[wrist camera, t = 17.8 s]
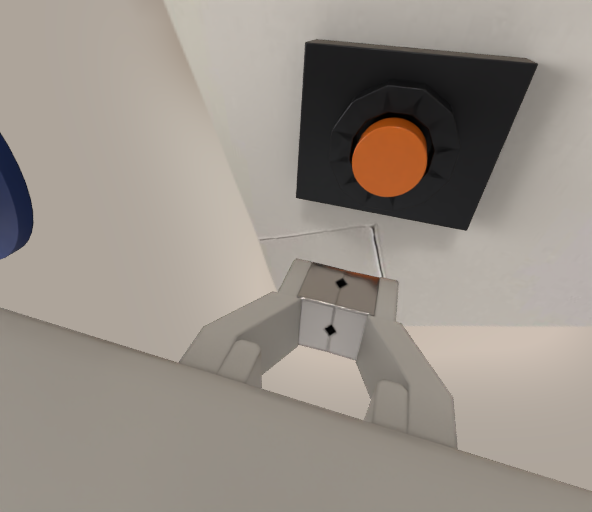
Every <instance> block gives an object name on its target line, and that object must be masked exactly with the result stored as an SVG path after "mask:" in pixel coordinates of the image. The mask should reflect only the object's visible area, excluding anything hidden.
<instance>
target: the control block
mask: <svg viewBox="0 0 592 512" xmlns="http://www.w3.org/2000/svg"><path fill="white" fill-rule="evenodd" d="M537 66H538V64H537V63H535V62H533V61H531V60H529V59H527V58H518V57H507V56H496V55H485V54H473V53H462V52H451V51H440V50H429V49H418V48H407V47H396V46H385V45H374V44H363V43H352V42H340V41H329V40H318V39H316V40H312V41H308V42H306V43H305V55H304V72H303V89H302V106H301V123H300V139H299V156H298V173H297V190H296V198H299V199H305V200H310V201H315V202H320V203H325V204H330V205H336V206H341V207H346V208H351V209H356V210H362V211H367V212H372V213H377V214H382V215H388V216H393V217H398V218H403V219H408V220H414V221H419V222H424V223H429V224H434V225H439V226H445V227H450V228H455V229H460V230H465V231H466V230H467V229H468V227H469V224H470V222H471V220H472V217H473V215H474V213H475V210H476V208H477V206H478V203H479V201H480V199H481V196H482V194H483V192H484V189H485V187H486V185H487V182H488V180H489V178H490V175H491V173H492V171H493V168H494V166H495V164H496V161H497V159H498V157H499V154H500V152H501V150H502V147H503V145H504V143H505V140H506V138H507V136H508V133H509V131H510V129H511V126H512V124H513V122H514V119H515V117H516V115H517V112H518V110H519V108H520V105H521V103H522V101H523V98H524V96H525V94H526V91H527V89H528V87H529V84H530V82H531V80H532V77H533V75H534V73H535V70H536V68H537ZM392 117H396V118H403V119H406V120H409V121H410V122H412V123H414V124H415V125H416V126H417V127H418V128H419V129H420V130H421V131H422V133H423V135H424V137H425V139H426V144H427V166H426V170H425V173H424V175H423V177H422V179H421V180H420V182H419V183H418V184H417V185H416V186H415V187H414V188H413V189H411V190H410V191H408V192H406V193H404V194H402V195H399V196H394V197H381V196H377V195H374V194H372V193H370V192H368V191H366V190H365V189H364V188H363V187H362V186H361V185H360V184H359V183H358V181H357V180H356V178H355V176H354V173H353V169H352V157H353V153H354V150H355V148H356V146H357V144H358V142H359V140H360V138H361V136H362V134H363V133H364V132H365V130H366V129H367V128H368V127H370V126H371V125H372V124H374V123H375V122H377V121H379V120H382V119H385V118H392Z"/></svg>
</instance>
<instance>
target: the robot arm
mask: <svg viewBox="0 0 592 512" xmlns="http://www.w3.org/2000/svg"><path fill="white" fill-rule="evenodd" d="M398 285H399V283H398V281H397V280H392V279H387V278H382V277H380V278H379V277H374V276H370V275H365V274H361V273H356V272H351V271H347V270H343V269H339V268H335V267H331V266H327V265H323V264H319V263H315V262H313V263H312V262H310V261H306V260H302V259H298V258H296V259H295V260H294V261H293V263H292V265H291V267H290V269H289V271H288V273H287V275H286V277H285V279H284V281H283V283H282V285H281V287H280V289H279V291H278V293H277V292H271V293H269V294H267V295H265V296H263V297H261V298H259V299H257V300H255V301H253V302H251V303H249V304H247V305H245V306H243V307H241V308H239V309H237V310H235V311H233V312H231V313H229V314H227V315H225V316H224V317H221V318H220V319H217V320H216V321H214V322H212V323H210V324H208V325H206V326H204V327H203V328H202V329H201V331H200V332H199V334H198V335H197V337H196V338H195V340H194V341H193V342H192V344H191V345H190V347H189V348H188V350H187V351H186V353H185V354H184V355H183V357H182V358H181V360H180V361H179V363H177V362H174V361H171V360H168V359H164V358H161V357H158V356H155V355H151V354H148V353H145V352H142V351H139V350H135V349H132V348H129V347H126V346H122V345H119V344H116V343H113V342H109V341H106V340H103V339H100V338H96V337H93V336H90V335H87V334H84V333H81V332H77V331H74V330H71V329H68V328H65V327H61V326H58V325H55V324H52V323H48V322H45V321H42V320H39V319H36V318H32V317H29V316H26V315H22V314H19V313H16V312H13V311H10V310H7V309H3V308H0V512H592V491H589V490H586V489H583V488H579V487H577V486H573V485H570V484H567V483H564V482H561V481H557V480H554V479H551V478H548V477H544V476H541V475H538V474H535V473H531V472H528V471H525V470H522V469H519V468H516V467H512V466H509V465H505V464H503V463H499V462H496V461H493V460H490V459H487V458H483V457H480V456H477V455H473V454H470V453H467V452H464V451H461V450H458V448H457V436H456V424H455V413H454V401H453V397H452V395H451V394H450V392H449V391H448V390H447V389H446V387H445V385H444V384H443V382H442V381H441V379H440V378H439V377H438V375H437V374H436V372H435V371H434V369H433V368H432V367H431V365H430V364H429V362H428V361H427V360H426V358H425V357H424V355H423V354H422V352H421V351H420V350H419V348H418V347H417V345H416V344H415V342H414V341H413V339H412V338H411V337H410V335H409V334H408V332H407V331H406V329H405V328H404V326H403V325H402V324H401V323H398V322H396V312H397V299H398ZM298 345H302V346H306V347H310V348H314V349H318V350H322V351H327V352H330V353H333V354H336V355H339V356H343V357H346V358H349V359H352V360H356V364H357V366H358V369H359V371H360V374H361V376H362V379H363V381H364V384H365V386H366V388H367V391H368V394H369V396H370V399H371V401H370V404H369V407H368V410H367V413H366V416H365V418H364V420H360V419H357V418H354V417H351V416H348V415H344V414H341V413H338V412H335V411H331V410H328V409H325V408H322V407H319V406H316V405H312V404H309V403H306V402H303V401H299V400H296V399H293V398H290V397H287V396H283V395H280V394H277V393H274V392H270V391H267V390H264V389H262V380H261V377H262V375H263V374H264V373H265V372H266V371H268V370H269V369H270V368H271V367H273V366H274V365H275V364H276V363H277V362H279V361H280V360H281V359H283V358H284V357H285V356H286V355H288V354H289V353H290V352H291V351H292V350H294V349H295V348H296V347H297V346H298Z"/></svg>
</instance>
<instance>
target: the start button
mask: <svg viewBox="0 0 592 512" xmlns="http://www.w3.org/2000/svg"><path fill="white" fill-rule="evenodd" d="M426 166H427V144H426V139H425V137H424V135H423V133H422V131H421V130H420V129H419V128H418V127H417V126H416V125H415V124H414V123H412V122H410V121H409V120H406V119H403V118H396V117H392V118H385V119H382V120H379V121H377V122H375V123H374V124H372V125H371V126H370V127H368V128H367V129H366V130H365V132H364V133H363V134H362V136H361V138H360V140H359V142H358V144H357V146H356V148H355V150H354V153H353V157H352V169H353V173H354V176H355V178H356V180H357V181H358V183H359V184H360V185H361V186H362V187H363V188H364V189H365V190H366V191H368V192H370V193H372V194H374V195H377V196H381V197H394V196H399V195H402V194H404V193H406V192H408V191H410V190H411V189H413V188H414V187H415V186H416V185H417V184H418V183H419V182H420V180H421V179H422V177H423V175H424V173H425V170H426Z"/></svg>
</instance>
